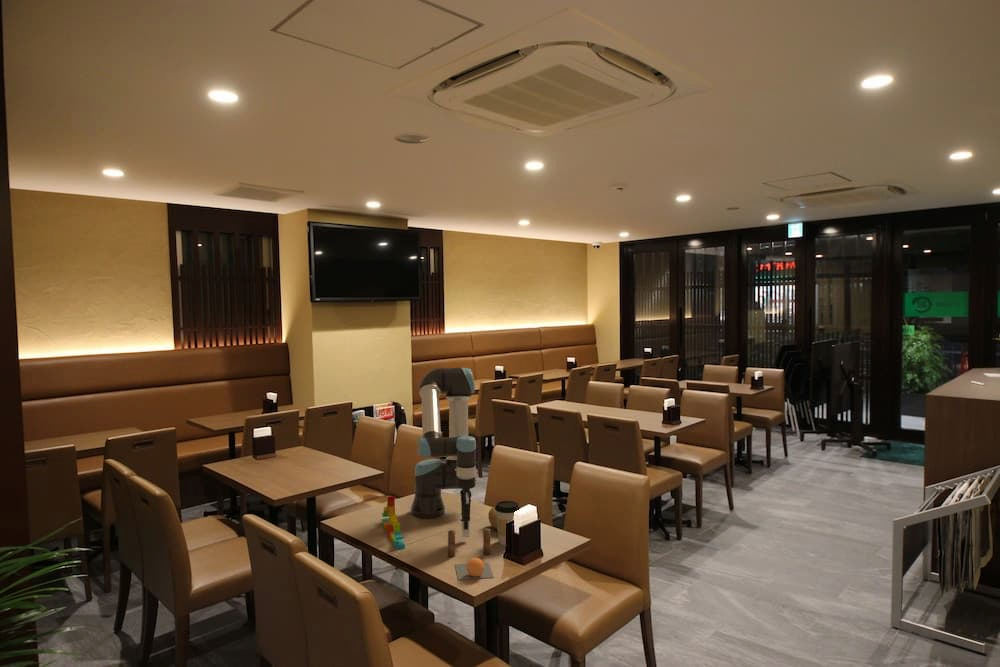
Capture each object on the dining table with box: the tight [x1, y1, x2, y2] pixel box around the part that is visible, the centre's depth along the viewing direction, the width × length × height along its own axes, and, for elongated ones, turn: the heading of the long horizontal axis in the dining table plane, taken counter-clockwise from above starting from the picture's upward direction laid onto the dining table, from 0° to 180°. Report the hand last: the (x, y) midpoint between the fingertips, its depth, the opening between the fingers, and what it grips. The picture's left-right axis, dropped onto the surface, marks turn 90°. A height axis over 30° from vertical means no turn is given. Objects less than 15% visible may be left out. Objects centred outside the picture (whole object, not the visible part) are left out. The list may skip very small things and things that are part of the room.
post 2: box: [482, 528, 491, 556], centre depth 217 cm, size 3×3×9 cm
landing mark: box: [454, 562, 495, 581], centre depth 202 cm, size 12×12×1 cm
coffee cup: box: [494, 500, 521, 546], centre depth 229 cm, size 10×10×15 cm
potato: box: [487, 506, 497, 530], centre depth 242 cm, size 10×14×8 cm
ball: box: [466, 557, 484, 577], centre depth 199 cm, size 6×6×6 cm
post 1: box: [447, 529, 456, 558], centre depth 215 cm, size 3×3×9 cm
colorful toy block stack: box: [381, 496, 406, 550], centre depth 235 cm, size 30×3×15 cm, turn 22°
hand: (465, 536), depth 229 cm, fingers closed
